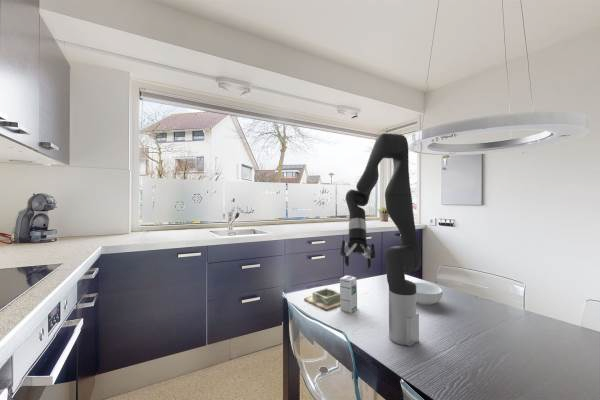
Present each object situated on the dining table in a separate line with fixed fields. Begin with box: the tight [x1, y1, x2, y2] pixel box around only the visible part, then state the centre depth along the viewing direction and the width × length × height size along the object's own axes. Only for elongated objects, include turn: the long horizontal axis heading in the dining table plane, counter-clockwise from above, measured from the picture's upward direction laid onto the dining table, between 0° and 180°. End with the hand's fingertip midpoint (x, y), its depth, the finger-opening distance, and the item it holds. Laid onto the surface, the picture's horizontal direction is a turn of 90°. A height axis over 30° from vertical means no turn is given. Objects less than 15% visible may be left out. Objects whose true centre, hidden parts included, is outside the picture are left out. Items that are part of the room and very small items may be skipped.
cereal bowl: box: [414, 282, 443, 306], centre depth 128 cm, size 17×17×7 cm
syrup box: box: [339, 275, 358, 313], centre depth 120 cm, size 6×6×14 cm
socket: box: [303, 287, 340, 311], centre depth 130 cm, size 16×16×4 cm
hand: (357, 267), depth 109 cm, fingers open, 8 cm apart
